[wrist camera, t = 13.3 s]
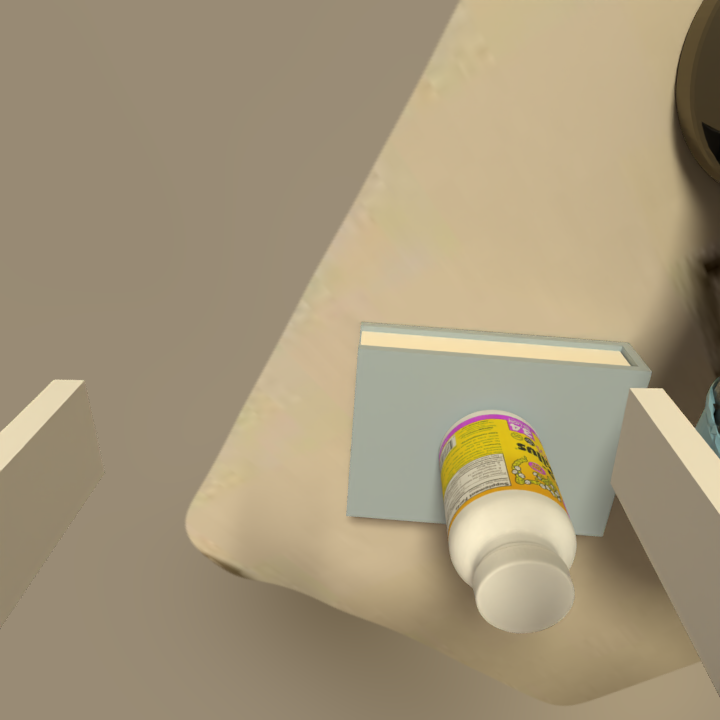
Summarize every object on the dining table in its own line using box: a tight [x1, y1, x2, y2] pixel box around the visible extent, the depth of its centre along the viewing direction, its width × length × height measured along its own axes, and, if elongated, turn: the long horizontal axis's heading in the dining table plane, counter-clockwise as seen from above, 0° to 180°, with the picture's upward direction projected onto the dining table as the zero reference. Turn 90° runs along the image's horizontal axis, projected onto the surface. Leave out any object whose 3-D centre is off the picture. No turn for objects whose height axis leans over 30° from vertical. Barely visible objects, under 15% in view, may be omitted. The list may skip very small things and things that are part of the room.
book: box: [346, 322, 652, 537], centre depth 44 cm, size 18×13×4 cm
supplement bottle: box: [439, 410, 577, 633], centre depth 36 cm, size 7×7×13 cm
